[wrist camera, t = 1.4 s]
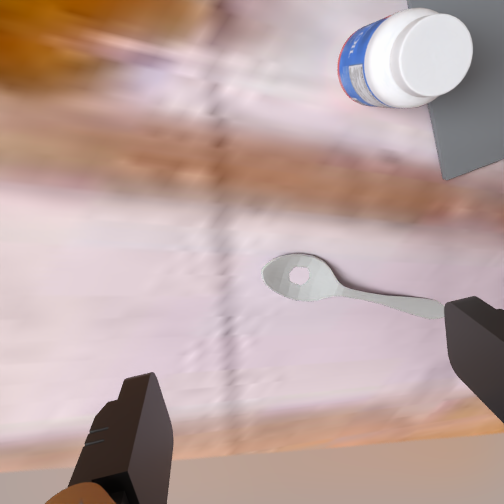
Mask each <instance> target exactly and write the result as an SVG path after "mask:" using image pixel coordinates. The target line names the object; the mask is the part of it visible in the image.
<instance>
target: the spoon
mask: <svg viewBox="0 0 504 504" xmlns="http://www.w3.org/2000/svg"><path fill="white" fill-rule="evenodd" d="M295 267H303V268H308V270H309V279H308V281H307V282H306V283H305V284H303V285H301V286H300V285H298V284H295V283H293V282H291V281H290V278H289V273H290V272H291V271H292V269H293V268H295ZM261 274H262V279H263V281H264V283H265V284H266V285H267V286H268V287H269V288H270V289H271V290H273V291H274V292H276V293H278V294H280V295H282V296H284V297H286V298H290V299H293V300H296V301H307V302H310V301H317V300H321V299H324V298H328V297H333V296H341V297H349V298H355V299H361V300H366V301H370V302H374V303H378V304H382V305H385V306H388V307H391V308H394V309H397V310H400V311H403V312H406V313H409V314H412V315H415V316H419V317H423V318H426V319H439V318H443V317H444V307H445V306H443V305H442V304H441V303H439V302H438V301H436V300H431V299H425V298H415V297H403V296H388V295H380V294H374V293H368V292H363V291H358V290H354V289H350V288H347V287H345V286H343V285H342V284H340V283H339V281H338V280H337V278H336V277H335V275H334V273H333V271H332V269H331V268H330V267H329V266H328V265H327V264H326V263H325V262H324V261H323V260H321V259H319V258H317V257H315V256H313V255H307V254H289V255H283V256H280V257H277V258H274V259H273V260H271V261H270V262H268V263H267V264H266V265H265V266H264V267H263V268H262V270H261Z"/></svg>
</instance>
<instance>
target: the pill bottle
mask: <svg viewBox="0 0 504 504" xmlns="http://www.w3.org/2000/svg"><path fill="white" fill-rule="evenodd" d="M472 55H473V43H472V38H471V35H470V32H469V31H468V29H467V27H466V26H465V25H464V23H463V22H461V21H460V20H459V19H458V18H456V17H454V16H452V15H449V14H442V13H438V12H436V11H433V10H431V9H427V8H411V9H406V10H403V11H400V12H397V13H395V14H393V15H390V16H388V17H386V18H384V19H381V20H379V21H376V22H374V23H372V24H369V25H367V26H364V27H362V28H361V29H359V30H357V31H356V32H355V33H353V34H352V35H351V36H350V37H349V38H348V39H347V41H346V42H345V43H344V45H343V47H342V49H341V51H340V54H339V57H338V63H337V74H338V79H339V82H340V85H341V87H342V89H343V91H344V92H345V93H346V95H347V96H348V97H349V98H351V99H352V100H353V101H355V102H357V103H359V104H362V105H366V106H376V107H387V108H416V107H420V106H423V105H425V104H427V103H429V102H431V101H433V100H434V99H436V98H437V97H438V96H439V95H443V94H445V93H447V92H449V91H451V90H452V89H454V88H455V87H456V86H457V85H458V84H459V83H460V82H461V81H462V79H463V78H464V77H465V75H466V73H467V71H468V69H469V67H470V64H471V61H472Z"/></svg>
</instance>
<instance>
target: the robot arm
mask: <svg viewBox="0 0 504 504" xmlns="http://www.w3.org/2000/svg"><path fill="white" fill-rule="evenodd" d="M444 317H445V327H446V338H447V349H448V356H449V360H450V363H451V366H452V368H453V370H454V372H455V373H456V375H457V376H458V377H459V378H460V379H461V380H462V381H463V382H464V383H465V384H466V385H467V386H468V387H469V388H470V389H471V390H472V391H473V392H474V393H475V394H476V395H477V397H478V398H479V399H480V400H481V401H482V402H483V403H484V404H485V405H486V406H487V407H488V408H489V409H490V410H491V411H492V412H493V413H494V414H495V415H496V416H497V417H498V418H499V419H500V420H501V421H502V422H503V423H504V310H503V309H497V310H496V309H495V308H493V307H492V306H490V305H489V304H487V303H486V302H484V301H482V300H481V299H479V298H478V297H476V296H472V297H468V298H464V299H460V300H455V301H451V302H447V303H446V304H445V307H444ZM89 432H90V434H88V436H87V439H86V441H85V447H83V449H82V452H81V454H80V457H79V459H78V462H77V464H76V467H75V470H74V472H73V475H72V477H71V480H70V482H69V485H68V487H67V488H66V489H64V490H62V491H60V492H59V493H57V494H56V495H54V496H53V497H52V498H50V499H49V500H48V501H47V502H46V503H45V504H167V496H168V487H169V478H170V469H171V461H172V452H173V430H172V425H171V421H170V417H169V414H168V411H167V408H166V405H165V402H164V399H163V396H162V392H161V389H160V386H159V383H158V380H157V377H156V375H155V374H154V373H153V372H151V373H147V374H143V375H138V376H134V377H130V378H126V379H125V380H124V382H123V385H122V388H121V391H120V394H119V397H118V400H115V401H111V402H108V403H107V404H106V405H105V406H104V407H103V408H102V409H101V411H100V412H99V413H98V414H97V415H96V416H95V418H94V421H93V423H92V426H91V429H90V431H89Z"/></svg>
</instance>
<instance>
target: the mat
mask: <svg viewBox="0 0 504 504" xmlns="http://www.w3.org/2000/svg"><path fill="white" fill-rule="evenodd" d="M407 4H408V9H411V8H427V9H431V10H433V11H436V12H438V13H442V14H449V15H452V16H454V17H456V18H458V19H459V20H460V21H461V22H463V23H464V25H465V26H466V27H467V29H468V31H469V32H470V35H471V38H472V43H473V55H472V61H471V64H470V67H469V69H468V71H467V73H466V75H465V77H464V78H463V79H462V81H461V82H460V83H459V84H458V85H457V86H456V87H455V88H454V89H452V90H451V91H449V92H447V93H445V94H443V95H439V96H438V97H437V98H436V99H434V100H433V101H431V102H429V103H428V108H429V113H430V118H431V123H432V128H433V133H434V138H435V143H436V147H437V152H438V157H439V162H440V167H441V172H442V177H443V179H445V180H449V179H451V178H454V177H457V176H459V175H462V174H465V173H467V172H470V171H473V170H475V169H478V168H480V167H483V166H486V165H488V164H491V163H494V162H496V161H499V160H502V159H504V0H407Z"/></svg>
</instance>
